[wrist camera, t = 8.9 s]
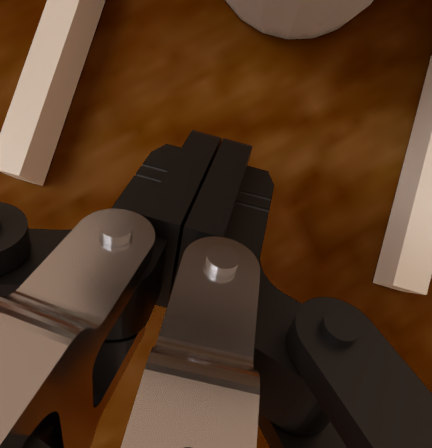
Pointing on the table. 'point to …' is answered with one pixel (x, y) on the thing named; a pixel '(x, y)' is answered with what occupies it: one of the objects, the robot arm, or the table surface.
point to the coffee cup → (297, 15)
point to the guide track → (64, 91)
